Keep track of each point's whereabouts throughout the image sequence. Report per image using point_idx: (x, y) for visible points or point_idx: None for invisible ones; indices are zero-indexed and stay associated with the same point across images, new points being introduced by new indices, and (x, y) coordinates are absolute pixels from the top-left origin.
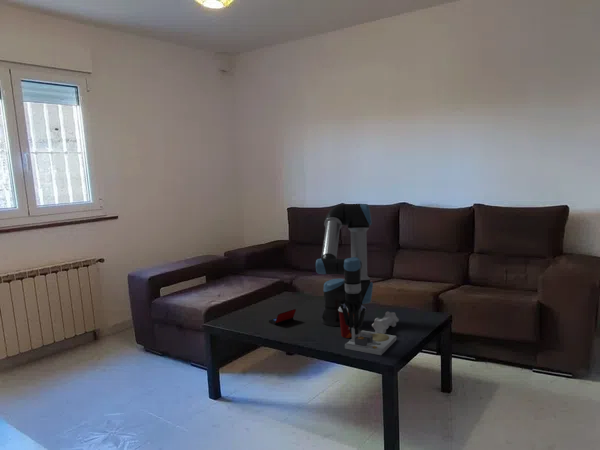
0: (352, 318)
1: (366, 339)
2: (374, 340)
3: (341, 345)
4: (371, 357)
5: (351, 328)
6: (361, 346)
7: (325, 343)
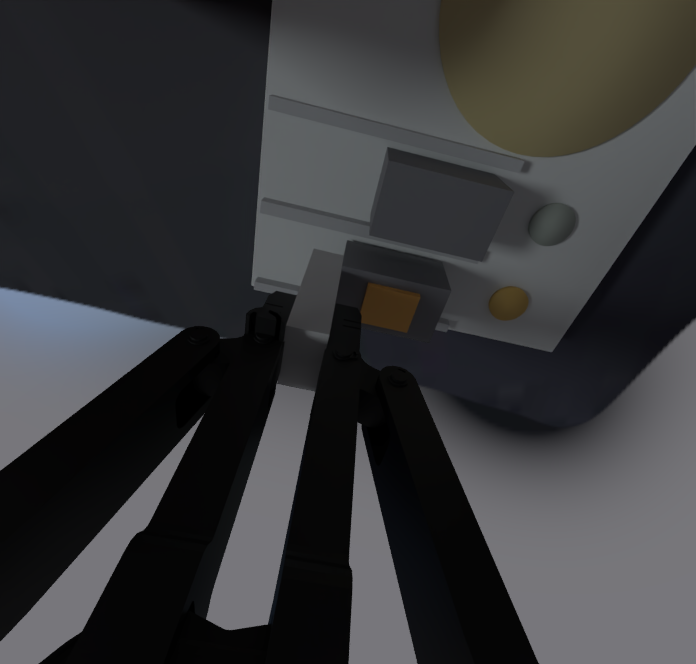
0: (249, 456)
1: (444, 299)
2: (518, 171)
3: (209, 215)
4: (471, 366)
5: (279, 378)
6: None
7: (64, 200)
